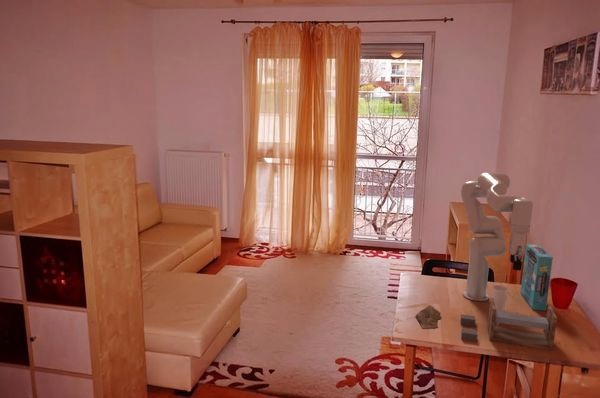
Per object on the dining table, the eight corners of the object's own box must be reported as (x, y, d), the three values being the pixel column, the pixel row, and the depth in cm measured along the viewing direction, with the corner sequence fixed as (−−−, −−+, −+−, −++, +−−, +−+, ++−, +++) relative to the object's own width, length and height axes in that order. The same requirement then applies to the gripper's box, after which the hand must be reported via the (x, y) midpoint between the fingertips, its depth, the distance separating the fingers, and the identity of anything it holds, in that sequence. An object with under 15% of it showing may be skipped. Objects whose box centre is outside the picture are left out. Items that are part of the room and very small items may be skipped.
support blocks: (460, 320, 209) (461, 314, 208) (474, 322, 207) (475, 316, 206) (461, 339, 192) (462, 332, 191) (476, 341, 190) (477, 335, 189)
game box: (546, 311, 220) (554, 257, 214) (532, 310, 221) (539, 256, 215) (532, 294, 239) (539, 244, 234) (519, 293, 240) (526, 243, 235)
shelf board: (545, 323, 192) (546, 317, 191) (548, 329, 186) (548, 324, 186) (493, 315, 198) (494, 310, 197) (495, 322, 192) (495, 316, 192)
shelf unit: (487, 327, 202) (490, 297, 200) (546, 336, 196) (551, 305, 193) (489, 340, 191) (493, 309, 188) (552, 350, 184) (557, 318, 181)
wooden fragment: (436, 332, 198) (436, 329, 198) (410, 326, 202) (411, 324, 202) (444, 308, 221) (444, 306, 221) (421, 304, 225) (421, 302, 225)
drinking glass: (494, 322, 207) (497, 291, 204) (485, 315, 214) (489, 285, 211) (507, 321, 209) (511, 290, 205) (499, 314, 215) (502, 284, 212)
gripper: (508, 222, 203) (503, 258, 207) (513, 232, 187) (508, 271, 191) (526, 223, 201) (521, 260, 205) (533, 234, 185) (528, 274, 189)
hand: (515, 266), depth 198 cm, fingers open, 9 cm apart
